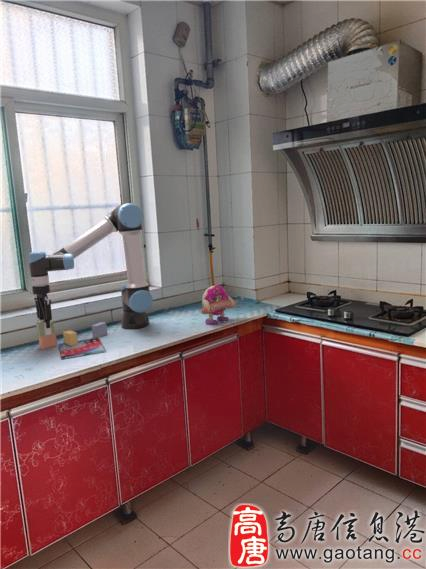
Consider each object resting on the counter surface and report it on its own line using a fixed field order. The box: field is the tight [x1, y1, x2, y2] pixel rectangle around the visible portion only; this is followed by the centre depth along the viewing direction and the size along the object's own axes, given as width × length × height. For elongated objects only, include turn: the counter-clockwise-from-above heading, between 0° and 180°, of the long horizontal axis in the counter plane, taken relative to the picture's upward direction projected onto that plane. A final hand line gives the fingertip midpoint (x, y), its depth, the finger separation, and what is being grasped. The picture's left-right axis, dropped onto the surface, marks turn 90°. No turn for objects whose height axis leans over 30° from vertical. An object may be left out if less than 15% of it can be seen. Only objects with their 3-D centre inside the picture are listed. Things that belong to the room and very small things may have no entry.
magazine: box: [57, 337, 107, 361], centre depth 202 cm, size 19×25×1 cm
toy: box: [200, 284, 238, 326], centre depth 232 cm, size 25×9×20 cm, turn 129°
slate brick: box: [90, 321, 108, 338], centre depth 221 cm, size 7×4×6 cm, turn 154°
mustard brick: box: [62, 330, 79, 346], centre depth 209 cm, size 7×4×6 cm, turn 44°
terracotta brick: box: [37, 332, 58, 350], centre depth 208 cm, size 7×4×6 cm, turn 133°
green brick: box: [35, 320, 56, 337], centre depth 206 cm, size 7×4×6 cm, turn 134°
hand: (46, 333), depth 207 cm, fingers closed on green brick, 3 cm apart
